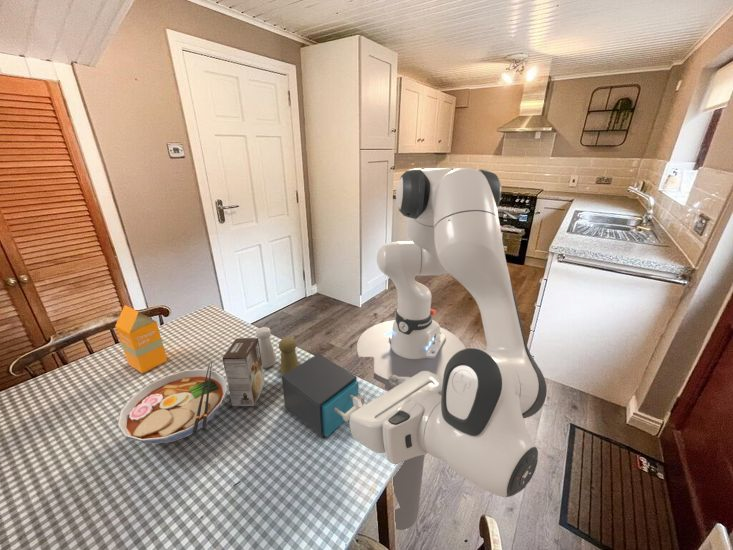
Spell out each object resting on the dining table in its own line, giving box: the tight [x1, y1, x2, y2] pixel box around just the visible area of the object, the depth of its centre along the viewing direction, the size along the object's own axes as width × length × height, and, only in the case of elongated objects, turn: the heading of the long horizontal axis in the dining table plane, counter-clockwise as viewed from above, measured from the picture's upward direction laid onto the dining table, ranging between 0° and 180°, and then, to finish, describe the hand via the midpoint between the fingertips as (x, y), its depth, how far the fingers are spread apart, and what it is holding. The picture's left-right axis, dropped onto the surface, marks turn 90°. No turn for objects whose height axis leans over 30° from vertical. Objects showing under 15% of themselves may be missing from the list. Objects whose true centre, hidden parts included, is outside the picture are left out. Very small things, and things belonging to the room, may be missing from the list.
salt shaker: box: [255, 326, 277, 369], centre depth 96 cm, size 6×6×13 cm
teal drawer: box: [322, 380, 367, 437], centre depth 77 cm, size 18×11×9 cm, turn 50°
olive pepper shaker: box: [278, 337, 300, 376], centre depth 94 cm, size 6×6×11 cm
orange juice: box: [114, 304, 168, 374], centre depth 95 cm, size 8×9×20 cm
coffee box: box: [222, 337, 266, 407], centre depth 83 cm, size 9×6×16 cm
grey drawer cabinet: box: [281, 353, 357, 439], centre depth 79 cm, size 15×13×11 cm
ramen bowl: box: [117, 361, 228, 445], centre depth 75 cm, size 25×23×8 cm
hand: (374, 389), depth 61 cm, fingers open, 8 cm apart
